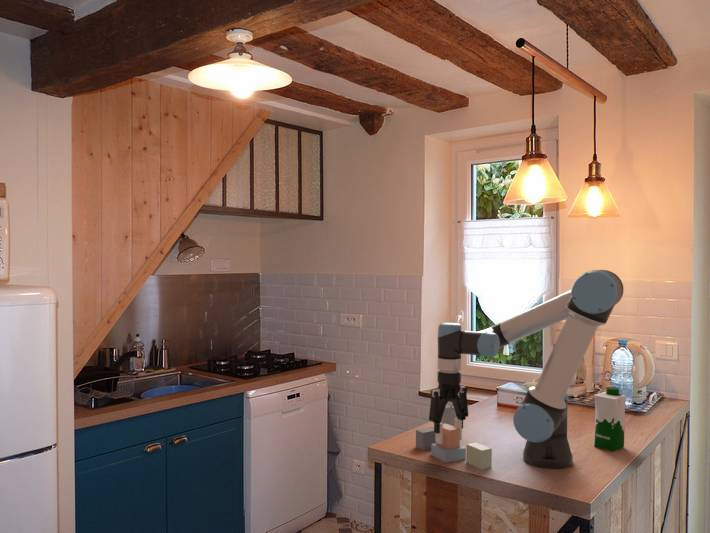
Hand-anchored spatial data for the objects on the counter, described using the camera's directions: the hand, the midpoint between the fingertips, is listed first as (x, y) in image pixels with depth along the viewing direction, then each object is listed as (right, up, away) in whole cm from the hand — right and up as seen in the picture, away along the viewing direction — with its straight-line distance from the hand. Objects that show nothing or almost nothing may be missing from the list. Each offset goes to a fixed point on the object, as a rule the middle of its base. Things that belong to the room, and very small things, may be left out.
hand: (448, 440), depth 196 cm
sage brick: (+8, -5, -8) cm, 13 cm away
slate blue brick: (0, -6, -1) cm, 6 cm away
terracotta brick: (0, -2, 0) cm, 2 cm away
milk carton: (+57, -5, +10) cm, 58 cm away
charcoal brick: (-6, -5, +9) cm, 12 cm away
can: (+2, -5, +19) cm, 20 cm away
